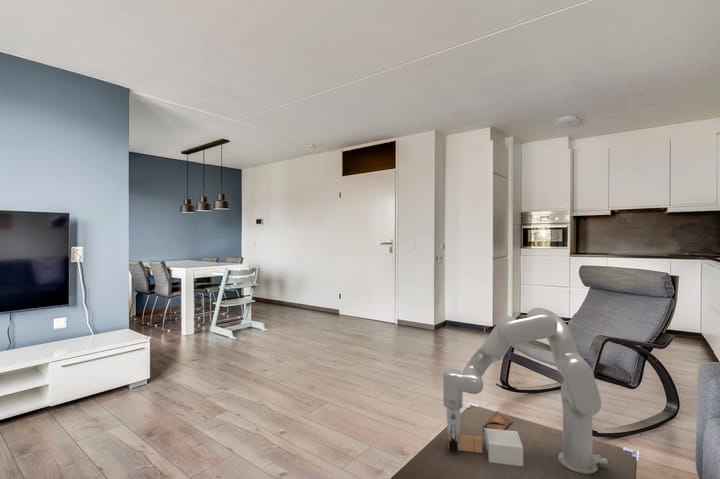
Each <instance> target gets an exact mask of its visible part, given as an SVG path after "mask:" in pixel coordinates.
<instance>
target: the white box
mask: <svg viewBox="0 0 720 479" xmlns="http://www.w3.org/2000/svg"><path fill="white" fill-rule="evenodd" d="M483 433H484V439H485V447H486V452H487V459H488V462H489V463H493V464H500V465H509V466H510V465H511V466H518V467H524V445H523V443H522V441H521V438H520V436H519V433H518V431H515V430H508V429H507V430H498V429H489V428H484V432H483Z"/></svg>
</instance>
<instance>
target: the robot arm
mask: <svg viewBox="0 0 720 479" xmlns="http://www.w3.org/2000/svg"><path fill="white" fill-rule="evenodd" d="M542 339H547V342H548V343H549V346H550V349H551V353H552V356H553V360H554V363H555V367H556V369H557V371H558V372H559V374H560V375H561V376H562V377H563V381H562V383H561V387H560V396H561V406H562V452H559V454H558V457H557V458H558V462H559V463H560V464H561V466H563V467H564V468H566V469H568V470H570V471H572V472H576V473H579V474H584V475H585V474H586V475H589V474H595V473H596V472H597V471H598V464H602V465H608V463H609V461H608V458H607V457H602V456H601V454H594V453H593V416H596V415H597V414H599V412H600V410H601V408H602V399H601V398H602V397H601V395H600V392H599V389H598V388H599V387H598V385H597V382H596V378H595V375H594V371H593V370H592V367H591V366H590V365H589V363H588V362H587V361H586V360H585V359H584V358H582V356H581V355H580V354H579V351H578V349H577V345H576V343H575V339H574V336H573V334H572V331H571V330H570V328H569V326H568V325H567V323H566V322H565V320H564V319H562V318H561V317H560V316H559V315H558V314H556V313H555V312H554V311H551V310H549V309H546V308H542V307H535V308H532V309H530V310H529V311H527V315H526V317H524V318H519V319H516V318H515V317H513V316H509V315H505V316H503V317H501V318H500V319H499V320H498V321H497V323H496V325H495V326H494V327H493V329H492V330H491V332H490V333H489V335H488V337H486V339H485V341H484V342H483V344H482V345H481V346H480V347H479V348H478V349H477V350H476V352H475V353H474V354H473V355H472V356H471V358H470V359H469V361H468V362H467V363H466V366H465V367H464V368H463V370H462V371H460V370H458V369H457V368H456V369H454V368H449V369H445V370H444V372H443V374H442V379H443V382H442V383H443V384H442V391H443V394H442V395H443V396H442V397H443V399H442V400H443V403H442V404H443V406H444V407H445V408H446V427H447V434H448V433H449V434H450V440H449V449H448V450H449V451H453V452H458V450H457V435H460V434H462V433H461V430H462V429H461V409H462V408H463V406H464V403H463V402H464V400H463V398H464V397H463V392H464V393H466V394H471V395H478V394H479V393H481V392H482V391H483V389H484V382H483V375H484V374H485V372H486V371H487V370H488V368H489V367H490V366H491V365H492V364H493V363H496V362H499V361H501V360H502V359H503V358H504V357H505V355H506V354H507V353H508V351H509V349H510V348H511V346H512V345H513V344H516V345H517V344H522V343H528V342H534V341H538V340H542ZM451 435H452V436H451Z"/></svg>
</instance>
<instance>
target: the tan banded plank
mask: <svg viewBox="0 0 720 479" xmlns="http://www.w3.org/2000/svg"><path fill="white" fill-rule="evenodd" d="M451 436H452V435H451ZM449 440H450V434H449V433H448V432H447V441H448V442H447V450H449ZM457 451H463V452H471V453H479V454H483V436H482V435H481V436H480V435H470V434H464V433H463V434H462V433H461V434H460V435H457Z"/></svg>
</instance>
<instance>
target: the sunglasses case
mask: <svg viewBox="0 0 720 479" xmlns="http://www.w3.org/2000/svg"><path fill="white" fill-rule="evenodd" d="M513 423H514V421H512V420H511V419H509V418H508V417H506V416H504V414H502V413H501V412H499V411H496V412H495V413H494V414H493V415H492V416H491V417H490V418H489V419H488V420H487V422H486V423H485V424H484V425H483V427H482V432H483V433H484V428H489V429H498V430H508V428H509V427H510V426H511V425H512V424H513Z"/></svg>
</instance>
